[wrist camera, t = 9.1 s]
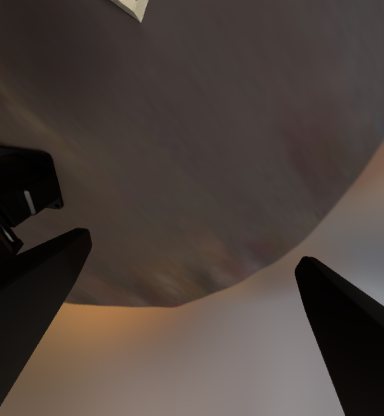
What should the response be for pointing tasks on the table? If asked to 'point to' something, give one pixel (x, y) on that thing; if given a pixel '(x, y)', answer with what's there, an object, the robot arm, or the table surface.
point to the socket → (133, 7)
